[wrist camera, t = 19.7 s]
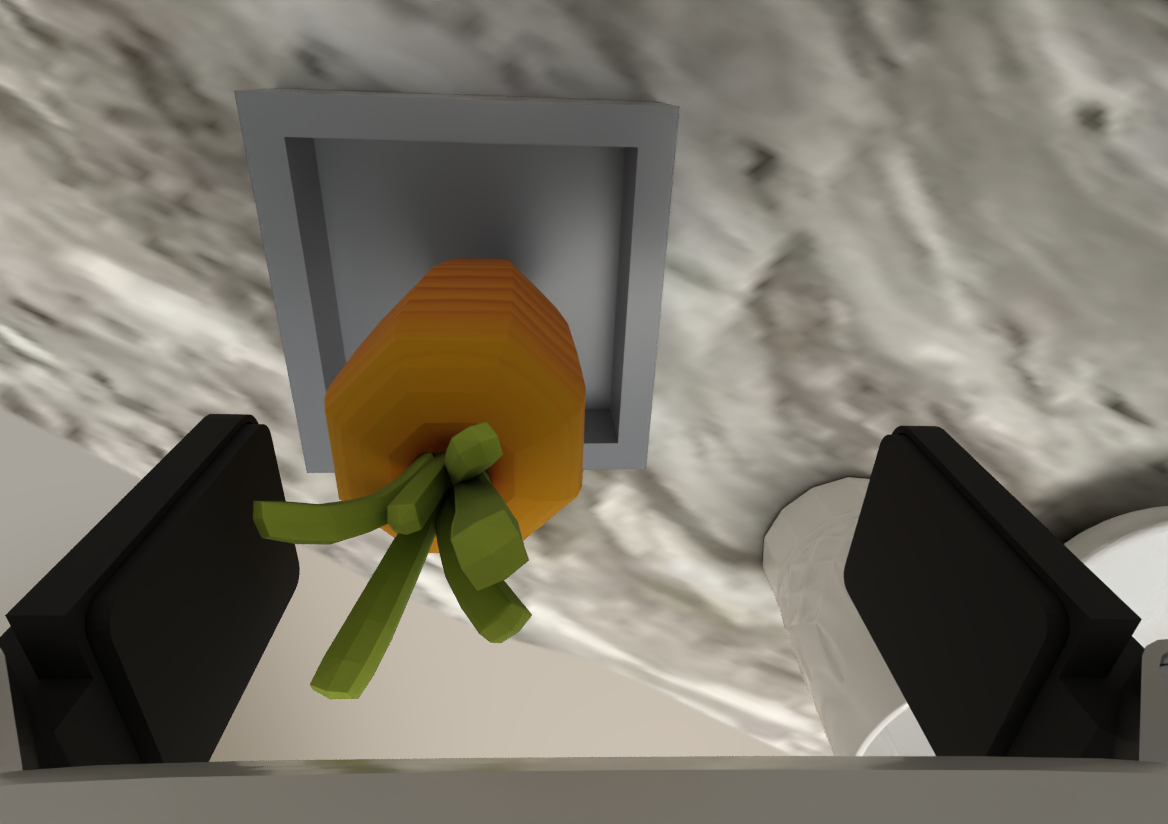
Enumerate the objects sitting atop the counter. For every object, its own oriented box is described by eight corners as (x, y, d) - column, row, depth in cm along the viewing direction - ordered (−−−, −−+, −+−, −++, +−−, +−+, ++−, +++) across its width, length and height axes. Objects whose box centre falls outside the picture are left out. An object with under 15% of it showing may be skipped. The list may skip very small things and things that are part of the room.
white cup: (717, 519, 27) (810, 739, 18) (898, 429, 26) (1096, 620, 17) (787, 634, 30) (893, 866, 21) (949, 560, 29) (1135, 775, 20)
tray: (658, 101, 19) (679, 106, 17) (633, 425, 24) (646, 468, 22) (276, 88, 19) (234, 91, 16) (332, 427, 24) (306, 472, 21)
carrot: (453, 377, 22) (340, 817, 9) (383, 241, 20) (94, 559, 7) (589, 325, 22) (681, 710, 9) (532, 180, 20) (535, 394, 6)
